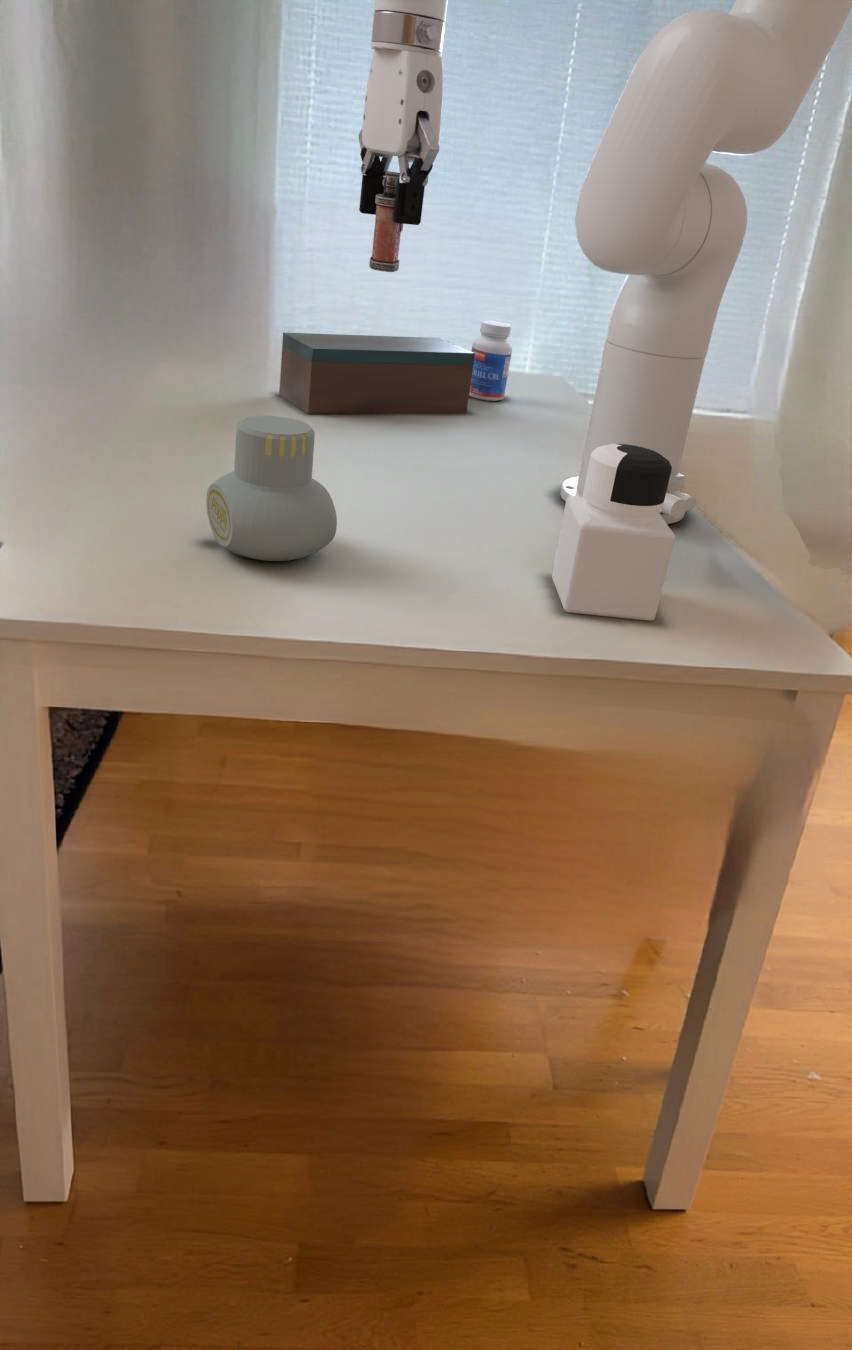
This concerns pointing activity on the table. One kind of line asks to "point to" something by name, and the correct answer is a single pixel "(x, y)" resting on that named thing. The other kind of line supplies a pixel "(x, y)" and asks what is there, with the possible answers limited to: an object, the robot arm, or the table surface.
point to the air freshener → (272, 494)
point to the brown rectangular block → (374, 374)
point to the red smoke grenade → (386, 228)
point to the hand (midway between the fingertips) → (389, 217)
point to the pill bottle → (491, 361)
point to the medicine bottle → (616, 536)
